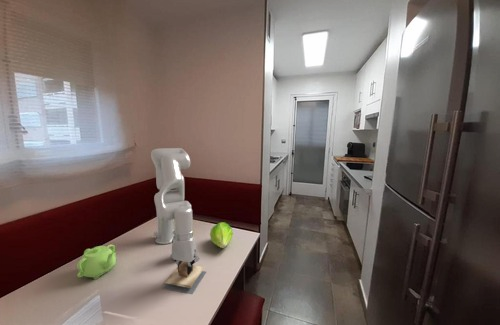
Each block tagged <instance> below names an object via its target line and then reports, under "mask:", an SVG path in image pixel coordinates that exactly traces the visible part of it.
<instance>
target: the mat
mask: <svg viewBox="0 0 500 325" xmlns="http://www.w3.org/2000/svg"><path fill="white" fill-rule="evenodd" d="M206 274H207V271H204V270H203V271H202V272H201V274H200V275H199V277H198V278H197V280H196V281H195V283H194V284H193V286H192V287H191V288H187V287H182V286H177V285H172V284H167V283H165V285H164V286H163V287H162V289H163V290H168V291H172V292H178V293H181V294H182V293H184V294H188V295H193V294H194V293H195V291H196V289H197V288H198V287H199V284H200V283H201V281H202V280H203V278H205V275H206Z"/></svg>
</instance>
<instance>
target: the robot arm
mask: <svg viewBox="0 0 500 325" xmlns="http://www.w3.org/2000/svg"><path fill="white" fill-rule="evenodd" d="M150 156H151V158H150V159H151V161H152V163H153V165H154V167H155V179H156V183H155V184H156V187H157V189H158V192H157V193H155V195H154V197H153V198H154V199H153V200H154V205H155V210H156V221H157V222H156V226H157V231H156V230H155V231H154V232H153V236H154V237H156V238H155V243H156V244H157V245H168V244H171V243H172V239H173V243H172V244H171V254H170V258H171V259H173V261H174V262H175V264H176V265H177V267H178V273H179V265H180V264H181V262H182V261H185V262H188V267H187V271H188V275H189V274H190V273H191V272H192V271H193V265H194V264H195V263H198V262H199V260H200V257H199V255H198V254H197V252H198V251H197V242H196V238H195V236H194V228H193V227H194V226H193V225H194V224H193V220H194V219H193V209H192V204H191V203H190V202H189V201H188V200H185V177H184V175H183V174H182V171H181V170H184V169H185V170H186V169H189V168H190V167H191V159H190V158H191V157H190V156H189V154H188V152H186V151H185V150H184V149H183V148H180V147H176V148H175V147H173V148H171V147H168V148H166V147H161V148H154V149H153V150H151V153H150ZM174 236H175V237H174ZM173 237H174V238H173Z"/></svg>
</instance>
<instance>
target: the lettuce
mask: <svg viewBox="0 0 500 325" xmlns="http://www.w3.org/2000/svg"><path fill="white" fill-rule="evenodd" d="M232 228H233V227H232V226H230V225H229V224H228V223H226V222H225V221H224V222H222V221H221V222H218V223H216V224H215V225H214V226H213V227H211V229H210V233H209V236H210V237H209V238H210V241H211V242H212V243H213V244H214V245H215V246H216V247H219V248H221V249H225V248H226V247H227V245H229V244H230V242H231V241H232V240H233V236H234V233H233V230H232Z"/></svg>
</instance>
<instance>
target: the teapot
mask: <svg viewBox="0 0 500 325" xmlns="http://www.w3.org/2000/svg"><path fill="white" fill-rule="evenodd" d="M115 248H116V246H115V245H114V244H107V246H105V245H99V246H97V245H96V246H94V247H92V248H86V249H85V250H84V251H83V254H82V256H81V259H80V260H79V261H78V262H77V265H76V267H77V269H78V273H77V274H76V275H77V277H78V278H83V277H85V278H93V280H98V279H99V278H101V276H102V275H104V274H106V273H107V272H110V271H112V270H113V269H114V267H115V265H116V263H117V257H116V256H117V253H116V252H115V251H116V249H115Z"/></svg>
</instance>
